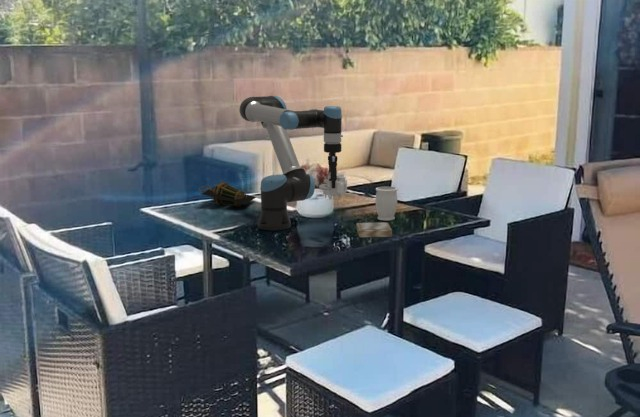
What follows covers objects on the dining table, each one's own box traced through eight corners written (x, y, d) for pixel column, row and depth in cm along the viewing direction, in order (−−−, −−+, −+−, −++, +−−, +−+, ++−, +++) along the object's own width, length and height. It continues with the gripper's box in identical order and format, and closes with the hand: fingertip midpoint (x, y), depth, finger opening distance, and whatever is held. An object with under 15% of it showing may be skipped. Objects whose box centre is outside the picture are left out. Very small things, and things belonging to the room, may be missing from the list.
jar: (395, 221, 316) (396, 190, 313) (373, 221, 318) (374, 189, 315) (397, 216, 326) (398, 186, 323) (376, 216, 328) (377, 185, 325)
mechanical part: (326, 194, 300) (326, 168, 297) (350, 196, 294) (350, 170, 292) (314, 198, 290) (314, 171, 287) (339, 201, 285) (339, 173, 282)
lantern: (241, 218, 342) (187, 201, 346) (253, 213, 365) (201, 196, 368) (248, 192, 340) (193, 175, 343) (259, 189, 363) (207, 173, 366)
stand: (359, 237, 288) (359, 229, 287) (356, 229, 302) (356, 222, 301) (391, 236, 289) (392, 229, 288) (387, 229, 302) (387, 221, 302)
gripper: (343, 146, 276) (343, 198, 280) (339, 139, 299) (339, 187, 304) (325, 146, 275) (325, 198, 280) (322, 139, 299) (322, 187, 303)
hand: (332, 192), depth 292 cm, fingers closed on mechanical part, 11 cm apart
